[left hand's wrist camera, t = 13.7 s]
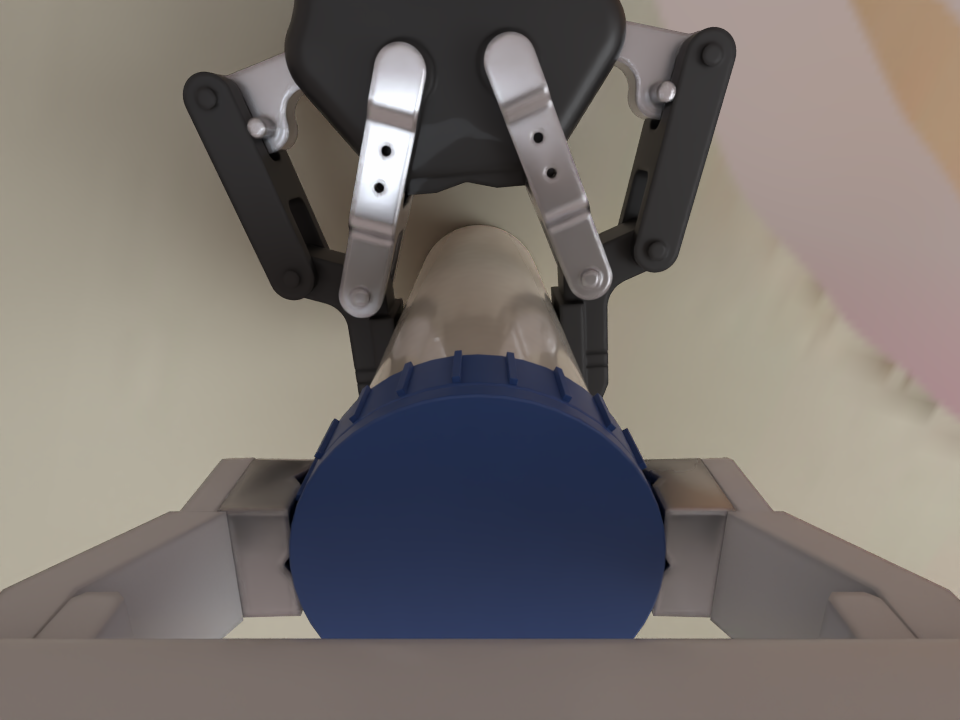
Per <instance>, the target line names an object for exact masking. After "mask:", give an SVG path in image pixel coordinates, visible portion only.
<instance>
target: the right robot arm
mask: <svg viewBox="0 0 960 720" xmlns="http://www.w3.org/2000/svg"><path fill="white" fill-rule="evenodd" d="M735 57H736V45H735V42H734V39H733V38H732V36H731V35H730V34H729V33H728V32H727V31H726V30H724V29H722V28H718V27H710V28H706V29H704V30H701V31H697V32H694V33H691V34H687V33H682V32H677V31H672V30H667V29H663V28H658V27H653V26H648V25H643V24H638V23H633V22H629V21H626V18H625V13H624V10H623V7H622V5H621V3H620V1H619V0H294V9H293V14H292V19H291V22H290V25H289V28H288V31H287V34H286V38H285V52H284V53H281V54H279V55H277V56H274V57H272V58H269V59H267V60H264V61H262V62H260V63H257V64H255V65H252V66H250V67H247V68H245V69H242V70H240V71H238V72H235V73H233V74H230V75H227V76H223V75H218V74H214V73H210V72H199V73H196V74H194V75H192V76H191V77H190V78H189V79H188V80H187V82H186V83H185V86H184V89H183V100H184V104H185V106H186V109H187V111H188V113H189V115H190V117H191V119H192V121H193V123H194V125H195V127H196V129H197V131H198V134H199V136H200V138H201V140H202V142H203V144H204V146H205V148H206V150H207V152H208V154H209V156H210V159H211V161H212V163H213V165H214V167H215V169H216V171H217V173H218V175H219V177H220V179H221V181H222V184H223V186H224V188H225V190H226V192H227V194H228V196H229V198H230V200H231V202H232V204H233V206H234V209H235V211H236V213H237V215H238V217H239V219H240V221H241V223H242V225H243V227H244V229H245V232H246V234H247V236H248V238H249V240H250V242H251V244H252V246H253V248H254V250H255V252H256V254H257V257H258V259H259V261H260V263H261V265H262V267H263V269H264V271H265V273H266V275H267V277H268V279H269V282H270V284H271V286H272V287H273V289H274V290H275V292H276V293H277V294H278V295H280V296H281V297H283V298H285V299H289V300H299V299H302V298H307V299H311V300H315V301H319V302H322V303H326V304H329V305H331V306H333V307H335V308H336V309H338V310H339V311H340V312H341V313H342V315H343V316H344V318H345V319H346V322H347V324H348V329H349V336H350V342H351V348H352V354H353V361H354V367H355V370H356V372H355V373H356V379H357V383H358V385H357V386H358V392H359V395H360V393H361V391H362V389H363V388H364V387H365V386H367V385H368V386H369V387H370V385H371V382H372V380H373V378H374V375H375V373H376V371H377V369H378V366H379V364H380V362H381V359H382V357H383V355H384V353H385V350H386V348H387V346H388V343H389V341H390V339H391V337H392V334H393V332H394V330H395V327H396V325H397V323H398V321H399V318H400V316H401V314H402V311H403V309H404V308H403V300H402V298H401V299H394V291H393V284H394V279H395V275H396V270H397V265H398V260H399V256H400V251H401V246H402V241H403V237H404V232H405V228H406V225H407V222H408V218H409V214H410V210H411V205H412V200H413V195H415V194H427V193H437V192H440V191H443V190H445V189H448V188H451V187H453V186H456V185H459V184H461V183H464V182H470V183H475V184H480V185H486V186H491V187H496V188H498V187H510V186H522V185H525V187H526V189H527V192H528V194H529V197H530V199H531V202H532V204H533V207H534V209H535V211H536V214H537V216H538V218H539V220H540V223H541V225H542V228H543V230H544V233H545V236H546V238H547V241H548V243H549V246H550V248H551V251H552V253H553V256H554V258H555V261H556V263H557V266H558V287H551V296H552V305H553V307H554V310H555V312H556V314H557V317H558V319H559V321H560V324H561V326H562V329H563V331H564V333H565V336H566V338H567V340H568V343H569V345H570V348H571V350H572V352H573V355H574V357H575V359H576V362H577V364H578V366H579V369H580V371H581V374H582V376H583V378H584V381H585V383H586V385H587V388H588V390H589V393H590V394H591V395H592V396H595V395H596V394H597V393H598V394H600V395H601V396H602V397H603V395H604V392H605V390H606V388H607V385H608V352H607V351H608V329H607V304H608V299H609V297H610V294H611V293H612V291H613V290H614V288H615V287H616V286H617V285H619V284H620V283H621V282H623V281H625V280H627V279H629V278H632V277H634V276H636V275H639V274H641V273H643V272H645V271H648V272H654V273H655V272H661V271H664V270H666V269H668V268H669V267H670V266H671V265H673V263H674V262H675V261H676V259H677V257H678V254H679V251H680V247H681V244H682V240H683V237H684V234H685V230H686V227H687V223H688V220H689V216H690V213H691V209H692V206H693V203H694V199H695V196H696V192H697V189H698V185H699V182H700V179H701V175H702V172H703V168H704V165H705V161H706V158H707V154H708V151H709V148H710V144H711V141H712V137H713V134H714V130H715V127H716V123H717V120H718V116H719V113H720V110H721V106H722V103H723V99H724V96H725V93H726V89H727V86H728V82H729V79H730V75H731V72H732V68H733V65H734V61H735ZM613 66H616V67H618V68H619V69H620V70H622V72H623V73H624V74H625V76H626V78H627V81H628V88H629V89H628V104H629V107H630V109H631V111H632V112H633V113H634V114H635V115H636V116H637V117H639V118H642V119H645V121H644V125H643V128H642V132H641V136H640V140H639V144H638V148H637V152H636V156H635V160H634V164H633V168H632V172H631V176H630V180H629V184H628V188H627V192H626V196H625V200H624V204H623V207H622V211H621V215H620V219H619V223H618V226H616V227H613V228H611V229H609V230H607V231H604V232H602V233H600V234H598V232H597V230H596V227H595V224H594V221H593V219H592V216H591V213H590V207H589V202H588V199H587V196H586V193H585V190H584V187H583V185H582V182H581V179H580V177H579V174H578V171H577V168H576V166H575V163H574V160H573V157H572V155H571V152H570V149H569V146H568V144H567V140H568V139H569V137H570V136H571V134H572V132H573V131H574V129H575V127H576V126H577V124H578V123H579V121H580V119H581V118H582V116H583V115H584V113H585V111H586V110H587V108H588V106H589V105H590V103H591V102H592V100H593V98H594V97H595V95H596V94H597V92H598V90H599V89H600V87H601V85H602V84H603V82H604V81H605V79H606V77H607V76H608V74H609V73H610V71H611V69H612V68H613ZM304 94H305V95H306V96H307V98H308V99H309V100H310V101H311V102H312V103H313V104H314V106H315V107H316V108H317V109H318V110H319V111H320V112H321V114H322V115H323V116H324V117H325V118H326V119H327V120H328V121H329V123H330V124H331V125H332V126H333V127H334V128H335V129H336V131H337V132H338V133H339V134H340V135H341V136H342V137H343V139H344V140H345V141H346V142H347V143H348V144H349V145H350V147H351V148H352V149H353V150H354V151H355V152H356V153H357V154H358V156H359V157H360V159H359V164H358V170H357V175H356V181H355V187H354V192H353V198H352V204H351V209H350V215H349V239H348V245H347V250H346V254H344V253H341V252H337V251H333V250H330V249H329V247H328V245H327V242H326V240H325V238H324V236H323V233H322V231H321V229H320V226H319V224H318V222H317V220H316V217H315V215H314V213H313V210H312V208H311V206H310V204H309V201H308V199H307V197H306V194H305V192H304V190H303V188H302V185H301V183H300V181H299V178H298V176H297V174H296V172H295V169H294V167H293V165H292V162H291V160H290V158H289V156H288V153H287V151H286V150H287V149H289V148H291V147H292V146H293V145H294V143H295V141H296V139H297V136H298V126H297V122H296V118H295V108H296V104H297V102H298V100H299V99H300V98H301V96H302V95H304Z"/></svg>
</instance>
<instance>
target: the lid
mask: <svg viewBox="0 0 960 720" xmlns="http://www.w3.org/2000/svg"><path fill="white" fill-rule="evenodd" d="M314 457H316V458H315V459H314V461H313V463H312V465H311V467H310V469H309V471H308V473H307V475H306V477H305V479H304V481H303V483H302V485H301V487H300V489H299V491H298V493H297V495H296V500H297V501H298V503H297V506H296V509H295V513H294V516H293V520H292V524H291V531H290V539H289V560H290V569H291V574H292V579H293V584H294V588H295V591H296V594H297V596H298V599H299V602H300V604H301V607H302V609H303V611H304V612H305V614H306V616H307V618H308V620H309V622H310V623H311V625H312V626H313V628H314V629H315V630H316V632H317V633H318V635H319V636H320V637H321V639H634V637H635V636H636V635H637V633H638V632H639V631H640V629H641V628H642V626H643V625H644V623H645V622H646V620H647V618H648V616H649V614H650V612H651V611H652V609H653V607H654V604H655V602H656V599H657V596H658V594H659V591H660V588H661V584H662V579H663V574H664V569H665V557H666V541H665V532H664V524H663V521H662V517H661V514H660V510H659V506H658V503H657V501H656V499H655V497H654V495H653V493H652V486H651V484H650V482H649V481H648V480H646V478H645V476H644V474H643V472H642V470H643V469H645V468H647V466H646V464H645V462H644V460H643V458H642V456H641V454H640V452H639V450H638V448H637V446H636V444H635V442H634V440H633V438H632V436H631V434H630V432H629V430H628V429H627V428H626V429H624V430H621V428H620V426H619V425H618V423H617V422H616V420H615V419H614V417H613V416H612V415H611V414H610V413H609V411H608V408H607V406H606V404H605V402H604V400H603V398H602V396H601V395H600V394H598V393H597V394H596V395H595V396H592V395H591V394H590V393H589V392H588V391H587V390H585V389H584V388H583V387H581V386H580V385H578V384H577V383H575V382H573V381H572V380H570V379H569V378H567V377H566V376H565V375H564V373H563V370H562V369H561V368H559V367H557V366H556V367H555V369H554V371H553V370H551V369H549V368H547V367H544V366H541V365H538V364H535V363H532V362H529V361H525V360H521V359H516V358H515V356H514V353H512V352H507V354H506V356H499V355H483V354H473V355H462V350H457V351H455V352H454V356H450V357H444V358H439V359H434V360H430V361H427V362H424V363H420V364H417V365H414V366H413V364H412V362H411V361H410V362H408V363H405V365H404V368H403V370H402V371H400V372H398V373H396V374H394V375H392V376H390V377H388V378H387V379H385V380H383V381H382V382H380V383H379V384H377V385H376V386H374V387H372V388H370V387H369V386H368V385H367V386H365V387H364V388H363V389H362V391H361V393H360V395H359V397H358V400H357V401H356V402H355V403H354V404H353V405H352V406H351V407H350V409H349V410H348V411H347V412H346V413H345V414H344V415H343V417H342V418H341V419H340V421H338V420H337V419H334V420H333V421H332V423H331V425H330V427H329V428H328V430H327V432H326V434H325V436H324V438H323V440H322V442H321V444H320V446H319V448H318V450H317V452H316V454H315V456H314Z"/></svg>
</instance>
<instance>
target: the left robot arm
mask: <svg viewBox="0 0 960 720" xmlns="http://www.w3.org/2000/svg"><path fill="white" fill-rule="evenodd" d="M313 461H314V459H262V458H258V459H256V458H228V459H222V460H221V461H220V462H219V463H218V465H217V466H216V467H215V468H214V470H213V471H212V472H211V473H210V474H209V476H208V477H207V478H206V479H205V481H204V482H203V483H202V484H201V486H200V487H199V488H198V489H197V491H196V492H195V493H194V494H193V496H192V497H191V498H190V499H189V501H188V502H187V503H186V504H185V506H184V507H183V508H182V509H181V510H180V511H174V512H168V513H166V514H163V515H161V516H159V517H157V518H155V519H153V520H151V521H148V522H146V523H144V524H142V525H140V526H138V527H136V528H133V529H131V530H129V531H127V532H125V533H123V534H121V535H119V536H116V537H114V538H112V539H110V540H108V541H106V542H104V543H101V544H99V545H97V546H95V547H93V548H91V549H89V550H86V551H84V552H82V553H80V554H78V555H76V556H74V557H72V558H69V559H67V560H65V561H63V562H61V563H59V564H57V565H54V566H52V567H50V568H48V569H46V570H44V571H42V572H39V573H37V574H35V575H33V576H31V577H29V578H27V579H25V580H22V581H20V582H18V583H16V584H14V585H12V586H10V587H7V588H5V589H3V590H2V591H1V592H0V720H960V600H959V599H958V598H957V597H956V596H955V595H954V594H953V593H952V592H951V591H950V590H948V589H946V588H944V587H942V586H940V585H938V584H936V583H933V582H931V581H929V580H927V579H925V578H923V577H921V576H919V575H917V574H914V573H912V572H910V571H908V570H906V569H904V568H902V567H900V566H898V565H895V564H893V563H891V562H889V561H887V560H885V559H883V558H881V557H879V556H876V555H874V554H872V553H870V552H868V551H866V550H864V549H862V548H860V547H857V546H855V545H853V544H851V543H849V542H847V541H845V540H843V539H841V538H839V537H836V536H834V535H832V534H830V533H828V532H826V531H824V530H822V529H820V528H817V527H815V526H813V525H811V524H809V523H807V522H805V521H803V520H801V519H798V518H796V517H794V516H792V515H790V514H788V513H786V512H780V511H773V510H772V509H771V507H770V506H769V505H768V504H767V502H766V501H765V500H764V499H763V497H762V496H761V495H760V493H759V492H758V491H757V490H756V488H755V487H754V486H753V485H752V483H751V482H750V481H749V480H748V478H747V477H746V476H745V475H744V473H743V472H742V471H741V469H740V468H739V467H738V466H737V464H736V463H735V462H734V461H733V460H732V459H729V458H707V459H700V458H692V459H650V460H644V462H645V464H646V466H647V468H645V469H643V470H642V472H643V474H644V476H645V478H646V480H648V481H649V482H650V484H651V486H652V493H653V495H654V497H655V499H656V501H657V503H658V506H659V510H660V514H661V517H662V521H663V524H664V532H665V541H666V557H665V569H664V574H663V579H662V584H661V588H660V591H659V594H658V596H657V599H656V602H655V604H654V607H653V609H652V613H653V616H680V617H711V619H710V620H711V621H712V622H713V623H715V624H716V625H717V626H718V627H719V628H720V629H721V630H723V631H724V632H725V633H726V634H727V635H728V636H729V637H731V638H732V639H222V638H223V637H225V636H226V635H227V634H228V633H229V632H230V631H231V630H233V629H234V628H235V627H236V626H237V625H238V624H240V623H241V622H242V621H243V617H272V616H301V614H302V611H303V609H302V607H301V604H300V602H299V599H298V596H297V594H296V591H295V588H294V584H293V579H292V574H291V569H290V560H289V539H290V531H291V524H292V520H293V516H294V513H295V509H296V506H297V503H298V501H297V500H296V495H297V493H298V491H299V489H300V487H301V485H302V483H303V481H304V479H305V477H306V475H307V473H308V471H309V469H310V467H311V465H312V463H313Z"/></svg>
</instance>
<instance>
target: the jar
mask: <svg viewBox="0 0 960 720" xmlns="http://www.w3.org/2000/svg"><path fill="white" fill-rule="evenodd" d="M457 350H462V355H473V354H483V355H499V356H506V354H507V352H512V353H514V356H515V358H516V359H521V360H525V361H529V362H532V363H535V364H538V365H541V366H544V367H547V368H549V369H551V370H553V371H554V369H555V367H556V366H557V367H559V368H561V369H562V370H563V373H564V375H565V376H566V377H567V378H569V379H570V380H572V381H573V382H575V383H577V384H578V385H580V386H581V387H583V388H584V389H585V390H587V391H588V392H589V390H588V388H587V385H586V383H585V381H584V378H583V376H582V374H581V371H580V369H579V366H578V364H577V362H576V359H575V357H574V355H573V352H572V350H571V348H570V345H569V343H568V340H567V338H566V336H565V333H564V331H563V329H562V326H561V324H560V321H559V319H558V317H557V314H556V312H555V310H554V307H553V305H552V303H551V300H550V298H549V295H548V293H547V291H546V288H545V286H544V284H543V281H542V279H541V277H540V274H539V272H538V269H537V267H536V265H535V262H534V260H533V258H532V256H531V254H530V253H529V251H528V249H527V248H526V247H525V246H524V245H523V243H522V242H520V241H519V240H518V239H517V238H516V237H515V236H513V235H512V234H510V233H508V232H506V231H504V230H502V229H499V228H496V227H493V226H488V225H471V226H466V227H462V228H459V229H456V230H454V231H452V232H450V233H448V234H447V235H445V236H444V237H442V238H441V239H440V240H439V241H438V242H437V243H436V244H435V245H434V246H433V248H432V249H431V250H430V252H429V253H428V255H427V257H426V259H425V261H424V263H423V266H422V268H421V270H420V273H419V275H418V277H417V279H416V282H415V284H414V286H413V289H412V291H411V293H410V295H409V298H408V300H407V302H406V305H405V307H404V309H403V311H402V314H401V316H400V318H399V321H398V323H397V325H396V327H395V330H394V332H393V334H392V337H391V339H390V341H389V343H388V346H387V348H386V350H385V353H384V355H383V357H382V359H381V362H380V364H379V366H378V369H377V371H376V373H375V375H374V378H373V380H372V382H371V385H370V388H372V387H374V386H376V385H377V384H379V383H380V382H382V381H383V380H385V379H387V378H388V377H390V376H392V375H394V374H396V373H398V372H400V371H402V370H403V368H404V365H405V363H408V362H410V361H411V362H412V364H413V366H414V365H417V364H420V363H424V362H427V361H430V360H434V359H439V358H444V357H450V356H454V352H455V351H457Z"/></svg>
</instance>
